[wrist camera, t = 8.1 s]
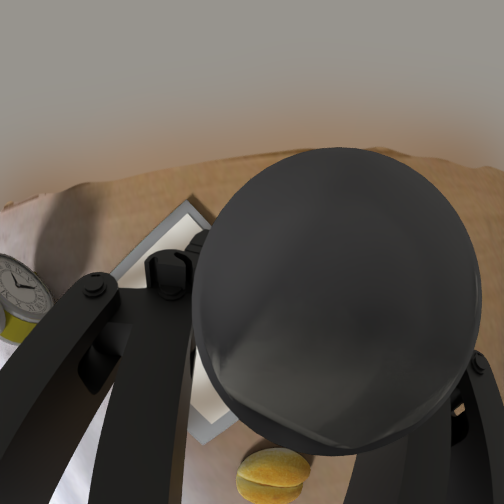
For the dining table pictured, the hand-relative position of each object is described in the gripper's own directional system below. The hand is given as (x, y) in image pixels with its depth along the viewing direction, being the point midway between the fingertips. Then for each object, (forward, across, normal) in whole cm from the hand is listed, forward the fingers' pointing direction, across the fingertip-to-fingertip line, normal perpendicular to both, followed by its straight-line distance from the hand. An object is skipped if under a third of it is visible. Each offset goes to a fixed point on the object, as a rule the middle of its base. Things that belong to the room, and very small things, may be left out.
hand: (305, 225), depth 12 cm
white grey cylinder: (0, 0, -6) cm, 6 cm away
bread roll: (-4, +5, -30) cm, 31 cm away
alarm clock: (+4, -30, -22) cm, 37 cm away
